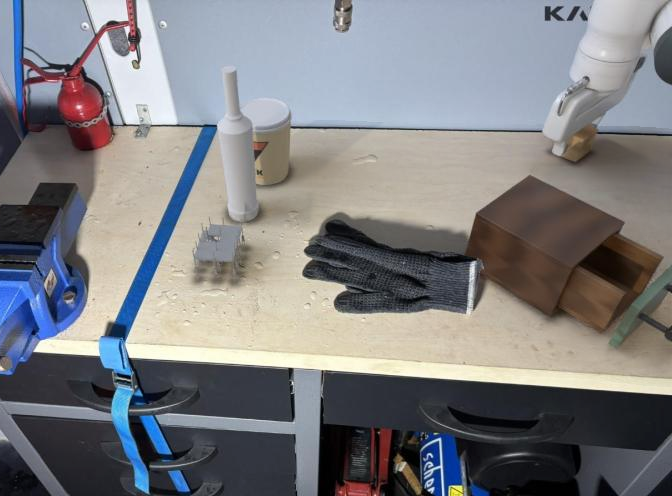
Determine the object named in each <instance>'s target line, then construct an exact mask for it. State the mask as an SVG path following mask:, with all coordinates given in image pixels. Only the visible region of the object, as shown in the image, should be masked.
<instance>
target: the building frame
mask: <svg viewBox="0 0 672 496" xmlns="http://www.w3.org/2000/svg"><path fill="white" fill-rule="evenodd" d="M221 218H222V220H221V221H222V224H215V223H211V217H210V216H208V220H209V226H208V227H207V226H205V230H204V226H203V222H201V223H200V225H201V233H200V232H197V237H198V244H197V240H195V241H194V242H195V247H196V248H195V251H194V249H192V250H191V252H192V257H193V261H194V271H195V272H194V273H195V274H196V277H197V278H196V279H197V280H199V279H200V276H199V271H201V270H203V266H202V263H205V262H206V261H207V264H210V261H211V262H213V264H214V269H213V271H214V272H213V274H214V277H215V278H217V281H220V279H219V278H220V277H219V272H220V271H222V266H221V265H223V262H224V263H232V267H233V269H232V278H235V279H233V282H236V283H237V282H238V279H237V275H238V273H240V265H242V260H241V258H242V259H244V255H243V254H241V253H243V248H244V246H246V239H245V235H244V231H243V230H244V229H243V222H242V220H241V222H240V225H228V224H225V220H224V216H222V217H221ZM241 234H242V235H241ZM196 261H197V262H196ZM239 262H240V263H239ZM197 265H198V266H197ZM216 266H217V267H216ZM235 267H237V268H235Z"/></svg>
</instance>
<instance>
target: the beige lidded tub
mask: <svg viewBox="0 0 672 496" xmlns="http://www.w3.org/2000/svg"><path fill="white" fill-rule="evenodd" d="M240 111H241V112H242V113H243V115H244V116H246V117H247V118H249V119H250V120H251V121H252V127H253V144H254V162H255V179H256V185H260V186H271V185H275V184H278V183H280V182H282V181H283V180H285V179H286V177H287V176H288V175H289V169H290V167H289V166H290V152H291V151H290V149H291V129H292V128H291V125H292V117H293V115H292V110H291V109H290V107H289V105H288V104H287V103H285V102H284V101H282V100H280V99H277V98H272V97H259V98H254V99H250V100H247V101H245V102H243V103H242V104H240Z"/></svg>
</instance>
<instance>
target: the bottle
mask: <svg viewBox="0 0 672 496" xmlns="http://www.w3.org/2000/svg"><path fill="white" fill-rule="evenodd" d="M220 71H221V78H222V79H221V80H222V84H223V93H224V101H225V113H224V116H223V117H222V118H221V119H220V120H219V121H218V123H217V124H216V128H217V134H218V141H219V147H220V154H221V160H222V167H223V174H224V180H225V187H226V193H227V194H226V195H227V200H228V202H227V211H228V214H229V217H230V218H231V219H232V220H233V221H236V222H240V223H241V220H242V223H245V222H246V223H247V222H250V221H252V220H254V219H255V218H257V216H258V215H259V210H260V203H259V200H258V199H257V184H256V179H255V162H254V144H253V127H252V121H251V120H250V119H249V118H247V117H246V116H244V115H243V113H242V112H241V111H240V106H241V104H240V97H239V86H238V85H239V84H238V71H237V67H236V66H234V65H225V66H223V67H222V68H221V69H220Z"/></svg>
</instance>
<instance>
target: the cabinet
mask: <svg viewBox="0 0 672 496" xmlns="http://www.w3.org/2000/svg"><path fill="white" fill-rule="evenodd" d="M625 223H626V222H625V221H624V220H622V219H620V218H618V217H617V216H613V215H612V214H609V213H608V212H605V211H604V210H602V209H599V208H597V207H596V206H594V205H592V204H589V203H588V202H585V201H584V200H581V199H579V198H577V197H575V196H574V195H572V194H569V193H568V192H565V191H564V190H562V189H559V188H557V187H556V186H554V185H551V184H550V183H547V182H545V181H543V180H541V179H540V178H538V177H535V176H533V175H531V174H529V175H527V176H525V177H524V178H523V179H521V180H520V181H518V182H517V183H516V184H514V185H513V186H512V187H510V188H509V189H507V190H506V191H505V192H503V193H502V194H500V195H499V196H497V197H496V198H494V200H492V201H491V202H489V203H487V204H486V205H485V206H484V207H482V208H480V209H479V210H478V211H476V212H475V216H474V218H473V223H472V226H471V230H470V234H469V238H468V241H467V246H466V249H465V253H464V256H469V257H473V258H479V259H481V260H482V263H483V266H484V270H483V269H481V271H480V273H479V274H481V275H482V276H484V277H485V278H487V279H488V280H490V281H492V282H493V283H495V284H496V285H498V286H499V287H501V288H502V289H504V290H506V291H507V292H509V293H511V294H512V295H514V296H516V297H517V298H519V299H520V300H521V301H523V302H525V303H527V304H528V305H530V306H532V307H533V308H535V309H536V310H538V311H539V312H541V313H542V314H544V315H546V316H547V317H549V318H550V317H552V316H553V315H554V314H555V313H557V312H558V310H559V309H561V308H560V307H558V306H557V305H558V303H559V300H560V298H561V296H562V294H563V292H564V289H565V287H566V285H567V283H568V281H569V279H570V276H571V274H572V272H573V270H574V268H575V267H576V266H578V265H579V264H580V263H581V262H582V261H583V260H585V259H586V258H587V257H588V256H589V255H590V254H592V253H593V252H594V251H595V250H596V249H597V248H598V247H600V246H601V245H602V244H603V243H604V242H605V241H607V240H608V239H609V238H610V237H611V236H612V235H614V234H615V233H616V232H617V233H618V234H620V233H621V231H622V230H623V227H624V225H625Z"/></svg>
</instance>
